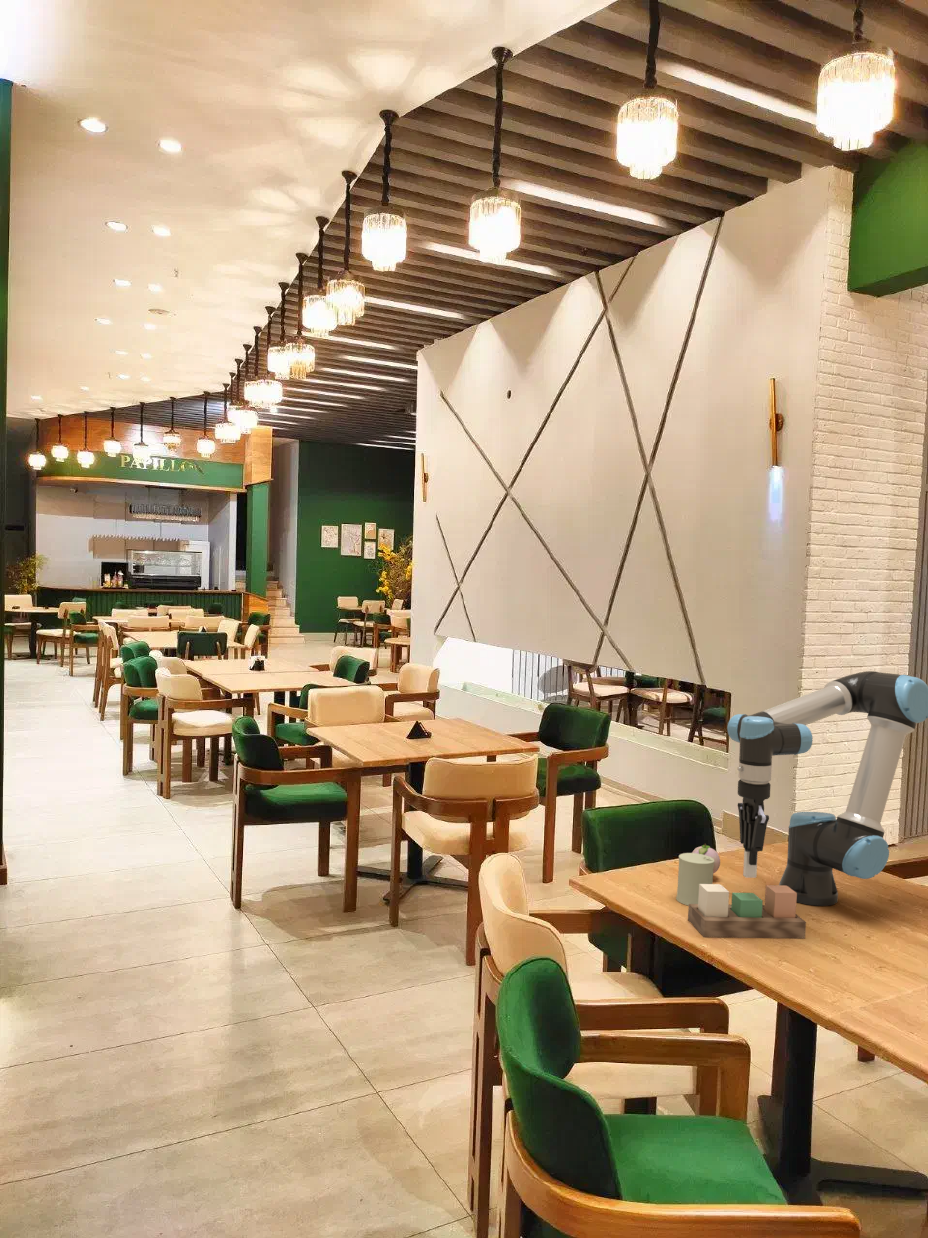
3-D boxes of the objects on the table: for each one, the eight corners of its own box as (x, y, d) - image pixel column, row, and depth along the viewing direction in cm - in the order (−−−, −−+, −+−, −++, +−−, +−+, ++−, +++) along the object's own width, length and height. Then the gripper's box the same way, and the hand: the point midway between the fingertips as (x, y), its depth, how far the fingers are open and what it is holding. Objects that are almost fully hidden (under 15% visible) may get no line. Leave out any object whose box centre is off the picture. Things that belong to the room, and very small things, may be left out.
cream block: (718, 912, 218) (720, 884, 217) (727, 920, 212) (729, 891, 212) (697, 912, 217) (699, 884, 217) (705, 920, 212) (707, 891, 212)
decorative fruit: (719, 885, 248) (721, 850, 248) (689, 881, 250) (691, 846, 250) (719, 875, 257) (721, 841, 257) (690, 871, 259) (692, 837, 259)
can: (713, 909, 229) (716, 863, 228) (676, 905, 230) (679, 859, 230) (710, 897, 238) (713, 853, 237) (675, 893, 239) (678, 849, 239)
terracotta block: (784, 913, 219) (786, 885, 219) (795, 921, 214) (796, 893, 214) (764, 913, 219) (765, 885, 219) (773, 921, 213) (775, 892, 213)
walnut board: (784, 921, 222) (785, 905, 222) (805, 938, 211) (806, 922, 211) (687, 919, 220) (688, 904, 220) (703, 937, 209) (704, 920, 209)
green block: (751, 921, 219) (753, 893, 218) (760, 929, 213) (762, 900, 213) (730, 920, 218) (732, 892, 218) (739, 929, 213) (741, 900, 212)
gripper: (728, 774, 221) (724, 868, 222) (750, 786, 208) (745, 885, 209) (757, 775, 221) (753, 868, 222) (781, 787, 208) (776, 885, 209)
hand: (749, 876), depth 215 cm, fingers closed
